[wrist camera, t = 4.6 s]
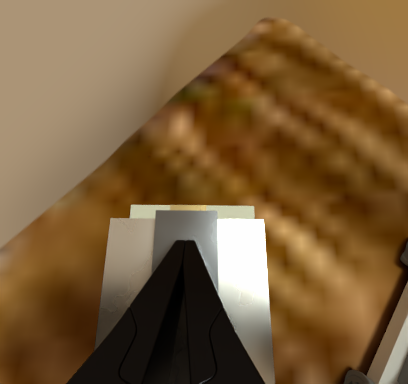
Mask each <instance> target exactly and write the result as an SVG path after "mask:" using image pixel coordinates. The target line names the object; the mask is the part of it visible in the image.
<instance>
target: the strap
mask: <svg viewBox="0 0 408 384" xmlns="http://www.w3.org/2000/svg"><path fill="white" fill-rule="evenodd" d="M176 240H185V241H186V240H195V242H196V244H197V246H198V248H199V251H200V253H201V255H202V258H203V260H204V262H205V264H206V267H207V269H208V271H209V273H210V276H211V278H212V280H213V283H214V285H215V287H216V289H217V292H218V214H217V211H193V210H156V214H155V228H154V242H153V257H152V271H151V275H152V273H153V272H154V270H155V269H156V268H157V266H158V265H159V263H160V262H161V261H162V259H163V258H164V256H165V255H166V254H167V252H168V251H169V249H170V248H171V247H172V245H173V244H174V242H175V241H176ZM218 294H219V292H218ZM168 384H190V377H189V360H188V344H187V328H186V311H185V295H184V294H183V300H182V306H181V312H180V317H179V323H178V329H177V335H176V340H175V346H174V352H173V357H172V363H171V369H170V375H169V380H168Z"/></svg>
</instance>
